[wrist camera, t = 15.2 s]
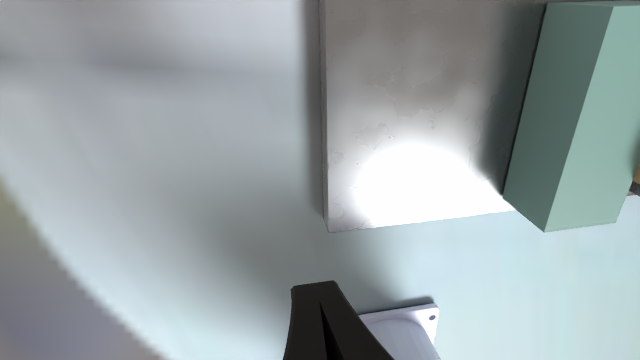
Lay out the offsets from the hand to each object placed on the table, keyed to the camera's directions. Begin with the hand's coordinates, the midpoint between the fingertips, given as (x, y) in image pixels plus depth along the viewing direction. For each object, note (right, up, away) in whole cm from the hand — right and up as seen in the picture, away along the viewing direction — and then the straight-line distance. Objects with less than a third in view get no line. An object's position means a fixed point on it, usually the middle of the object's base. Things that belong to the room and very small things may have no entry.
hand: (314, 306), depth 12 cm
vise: (+10, +8, +9) cm, 16 cm away
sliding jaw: (+12, +8, +7) cm, 16 cm away
